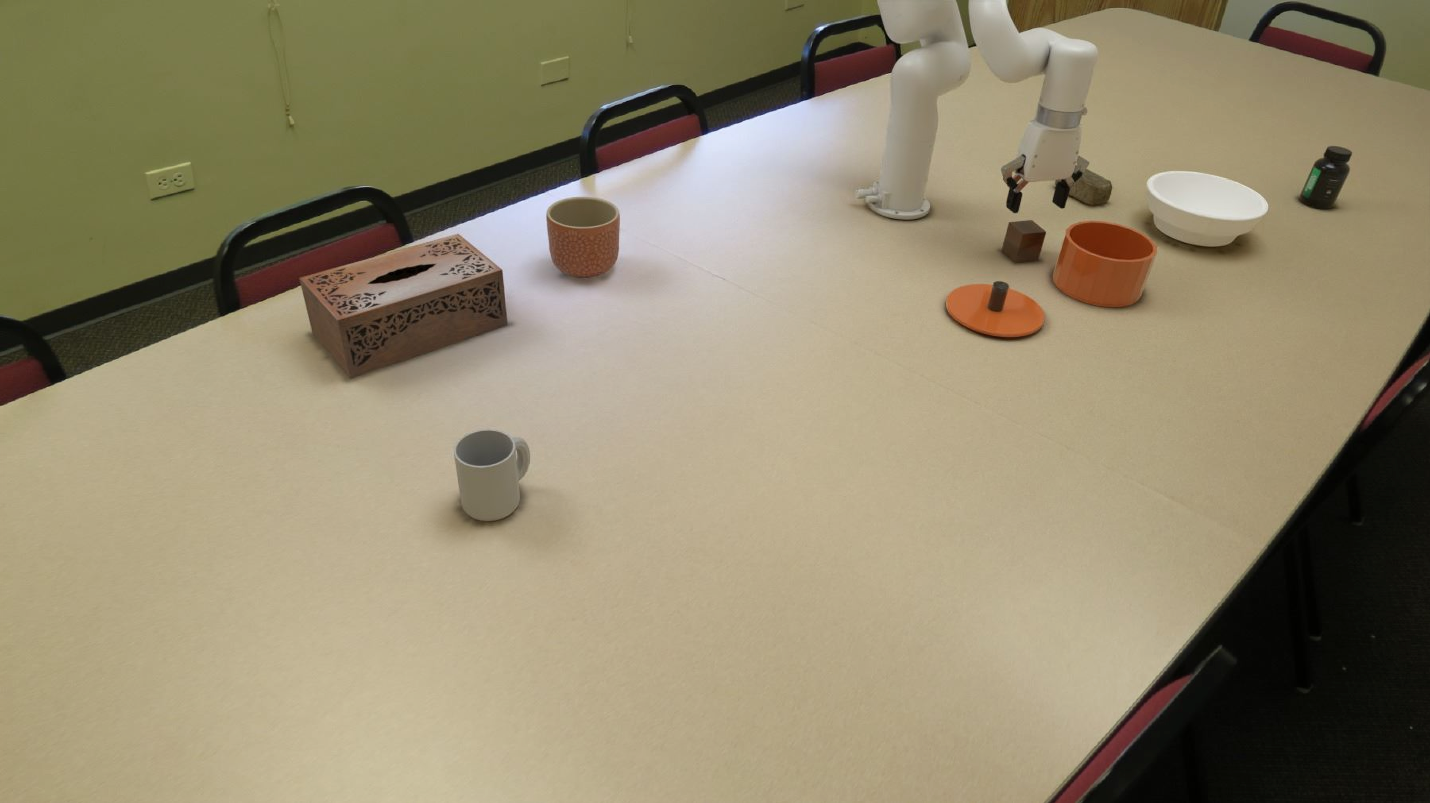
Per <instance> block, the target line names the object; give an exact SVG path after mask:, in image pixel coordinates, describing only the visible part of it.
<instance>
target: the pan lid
mask: <svg viewBox="0 0 1430 803" xmlns="http://www.w3.org/2000/svg"><path fill="white" fill-rule="evenodd" d="M945 307H946V310H947V312H948V314H949V315H950V317H952V319H954V320H955V321H956V322H958V323H959V324H961V325H962V326H964V327H966V328H968V329H969V330H972V331H975V332H978V333H981V334H985V335H987V336H994V337H1000V338H1017V337H1019V338H1020V337H1026V336H1028V335H1032V334H1034V333H1036V332H1037V331H1039V330H1040V329H1041V328H1042V326H1043V324H1044V321H1045V313H1044V310H1043V308H1042V307H1041V306H1040V305H1039V303H1038V302H1036V301H1035V300H1034V299H1033V298H1032V297H1030V296H1028V295H1027V294H1024V293H1022V292H1020V291H1018V290H1015V289H1012V288H1010V285H1009V283H1007V282H1005V281H1002V280H1001V281H1000V280H997V281H994V282H993V283H992V284H991V283H990V284H989V283H974V284H973V283H971V284H966V285H961V286H959V287H955V289H953V290H952V291H950V293H948V295H947V296H946V301H945Z"/></svg>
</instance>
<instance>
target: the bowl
mask: <svg viewBox="0 0 1430 803" xmlns="http://www.w3.org/2000/svg"><path fill="white" fill-rule="evenodd" d="M1146 204H1147V208H1148V209H1149V211H1150V212H1151V213H1152V214H1153V223H1154V224H1153V225H1154V226H1155V227H1156V228H1157V229H1158V230H1159V231H1160V232H1161V233H1163V234H1164V235H1166V236H1168V237H1170V238H1172V239H1175V240H1177V241H1179V242H1183V243H1186V244H1190V245H1195V246H1199V247H1200V246H1202V247H1223V246H1227V245H1229V244H1231V243H1232V242H1233V241H1235V239H1237V237H1238V236H1241V235H1245V234H1248V233H1249V232H1250V231H1252V230H1253V229H1254V227H1256V225H1257V224H1258V223H1259V222H1260V221H1261V220H1262V219H1263V218H1264V217H1265V215H1266V214H1267V213H1268V211H1269V204H1268V202H1267V200H1266V199H1265V198H1264V196H1262V194H1260V193H1259V192H1257V191H1256V190H1254V189H1252V188H1251V187H1248V186H1247V185H1245V184H1242V183H1240V182H1237V181H1236V180H1232V179H1230V178H1227V177H1222V176H1218V175H1215V174H1211V173H1204V172H1198V171H1190V170H1189V171H1188V170H1170V171H1163V172H1159V173H1156V174H1153V175H1151V176H1150V178H1148V180H1147V181H1146Z"/></svg>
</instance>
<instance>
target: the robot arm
mask: <svg viewBox="0 0 1430 803" xmlns="http://www.w3.org/2000/svg"><path fill="white" fill-rule="evenodd" d="M876 3H877V5H878V8H879V13H880V17H881V21H882V25H883V27H884V31H885V33H886V35H887V37H888V38H889V39H890V40H891V41H892V42H894V43H896V44H900V45H902V44H903V45H905V44H909V43H913V42H917V41H919V43H920V46H921V47H917V48H914V49H911V50H910V51H908V52H906V53H905V54H903V55H902V56H901V57H900V58H898V60H897V61H896V62H895V63H894V66H893V68H892V70H891V74H890V80H889V81H890V82H889V83H890V84H889V85H890V86H889V88H890V89H889V92H890V101H889V102H890V103H889V104H890V105H889V113H888V119H887V120H888V122H887V127H886V135H885V141H884V146H883V152H882V158H881V164H880V171H879V177H878V181H874V182H873V185H872V186H870V187H868V188H861V189H860V188H859V189H855V190H854V194H853V195H854V199H855V200H865V203H866V204H867V206H868V207H869V209H871V211H873V212H875V213H876V214H878V215H880V216H883V217H885V218H889V219H895V220H903V221H904V220H908V221H909V220H916V219H920V218H923V217H925V216H928V214H929V213H930V210H931V204H930V202H929V200H928V199H927V198H926V197H925V194H926V190H927V185H928V184H927V183H928V179H929V175H930V174H929V173H930V168H931V165H932V164H931V163H932V160H933V159H932V158H933V153H934V147H935V142H936V137H937V132H938V127H939V111H938V99H939V97H941V96H943V95H945V94H948V93H950V92H952V91H954V90H957V89H959V88H961V86H962V85H964V83H965V82H966V81H967V79H968V78H969V76H970V73H971V69H972V68H971V67H972V61H971V59H972V58H971V52H970V49H969V44H968V41H967V36H966V32H965V28H964V24H963V20H962V16H961V13H960V9H959V5H958V2H957V0H876ZM968 17H969V18H968V19H969V25H970V32H971V35H972V39H973V40H974V41H973V42H974V43H975V45H976V47H977V49H978V51H979V53H980V55H981V57H982V58H983V60H984V63H985V64H986V66H987V67H988V69H989V70H990V72H991V73H992V74H993V75H994V77H996V78H997V79H998V80H1000V81H1002V82H1004V83H1008V84H1017V83H1020V82H1023V81H1025V80H1028V79H1029V78H1032V77H1037V76H1041V75H1042V76H1043V75H1044V78H1043V81H1042V86H1041V90H1040V95H1039V100H1038V102H1037V107H1036V112H1035V116H1034V119H1033V120H1030V121H1029V122H1028V124H1027V126H1026V128H1025V130H1024V132H1023V135H1022V137H1021V140H1020V142H1019V146H1018V149H1017V152H1016V155H1015V158H1014V159H1013V160H1011V161H1009V162H1008V163H1006V164H1004V165H1003V166H1001V168H1000V172H1001V175H1002V181H1003V182H1004V183H1005V184H1006V186H1007V187H1008V188H1009V189H1008V193H1007V197H1006V202H1005V207H1006V208H1007V209H1008V210H1009V211H1010V212H1011V213H1013V214H1018V213H1019V211H1020V207H1021V203H1022V200H1023V199H1022V198H1023V192H1021V191H1022V190H1023V189H1024V188H1025V187H1026V186H1027V185H1028V184H1029V183H1037V182H1038V183H1039V182H1048V181H1049V182H1051V181H1055V180H1060V181H1061V182H1057V184H1056V185H1055V187H1054V188H1055V189H1054V192H1053V196H1052V200H1051V202H1052V204H1054V205H1055V206H1057V207H1058V208H1060V209H1065V208H1066V205H1067V201H1068V197H1069V196H1070V195H1069V191H1070V188H1072V187H1074V185H1075V182H1076V181H1077V180H1078V179H1079V178H1080V177H1081V176H1082V173H1083V172H1084V171H1085V169H1088V167H1089V165H1090V161H1088V160H1087V159H1086V158H1084V157H1082V156H1081V155H1079V152H1080V148H1081V147H1080V146H1081V140H1082V124H1081V120H1082V117H1083V116H1086V115H1087V114H1088V108H1087V107H1085V106H1086V101H1087V97H1088V94H1089V91H1090V87H1091V83H1092V78H1093V75H1094V71H1095V68H1096V64H1097V61H1098V55H1099V50H1098V48H1097V46H1096V45H1095V44H1094V43H1093V42H1090V41H1087V40H1085V39H1084V40H1083V39H1079V38H1070V37H1067V36H1065V35H1063V34H1060V33H1058V32H1056V31H1054V30H1052V29H1049V28H1045V27H1035V28H1030V29H1028V30H1025V31H1022V32H1019V30H1018V29H1017V27H1016V25H1015V23H1014V21H1013V19H1012V17H1011V15H1010V11H1009V9H1008V4H1007V0H968ZM1076 165H1077V166H1076ZM1075 166H1076V168H1075ZM1013 173H1014V175H1013Z"/></svg>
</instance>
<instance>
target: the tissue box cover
mask: <svg viewBox="0 0 1430 803" xmlns="http://www.w3.org/2000/svg"><path fill="white" fill-rule="evenodd" d="M503 272H504V271H503V269H502V268H501V267H500V266H499V265H497V264H496V263H495V262H493V260H491V258H489V257H487V256H486V255H485V254H484V253H483V252H481V250H479V249H478V248H476V246H474V245H473V244H472V243H471V242H470V241H468V240H467V239H465V237H463V236H462V235H461V234H460V233H455V234H452V235H448V236H444V237H441V238H437V239H434V240H430V241H426V242H422V243H419V244H415V245H412V246H408V247H405V248H401V249H398V250H394V251H391V252H387V253H384V254H380V255H376V256H372V257H369V258H365V259H362V260H358V261H354V262H351V263H347V264H343V265H340V266H337V267H333V268H329V269H326V270H325V269H324V270H321V271H319V272H318V271H317V272H315V273H314V272H313V273H311V274H307V275H304V276H300V277H299V283H300V287H301V288H300V289H301V291H302V294H303V301H304V304H305V309H306V312H307V317H308V321H309V325H310V329H311V334H312V336H314V339H316V340H317V341H318V343H319V344H320V345H321V346H322V348H324V350H325V351H326V352H327V353H328V355H329V356H330V357H331V358H332V359H333V361H334V362H335V363H336V364H337V365H338V366H339V368H340V369H341V370H342V371H343V372H344V374H345V375H346V376H347V377H348V378H349V379H354V378H357V377H360V376H363V375H366V374H368V373H372V372H374V371H378V370H381V369H383V368H386V367H389V366H392V365H395V364H398V363H401V362H403V361H406V360H410V359H413V358H415V357H418V356H422V355H425V354H427V353H430V352H433V351H437V350H438V349H442V348H444V347H447V346H451V345H454V344H456V343H459V342H463V341H465V340H468V339H471V338H473V337H477V336H479V335H483V334H485V333H488V332H491V331H494V330H497V329H500V328H503V327H506V326H508V315H507V314H508V313H507V304H506V293H505V283H504V273H503Z"/></svg>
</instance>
